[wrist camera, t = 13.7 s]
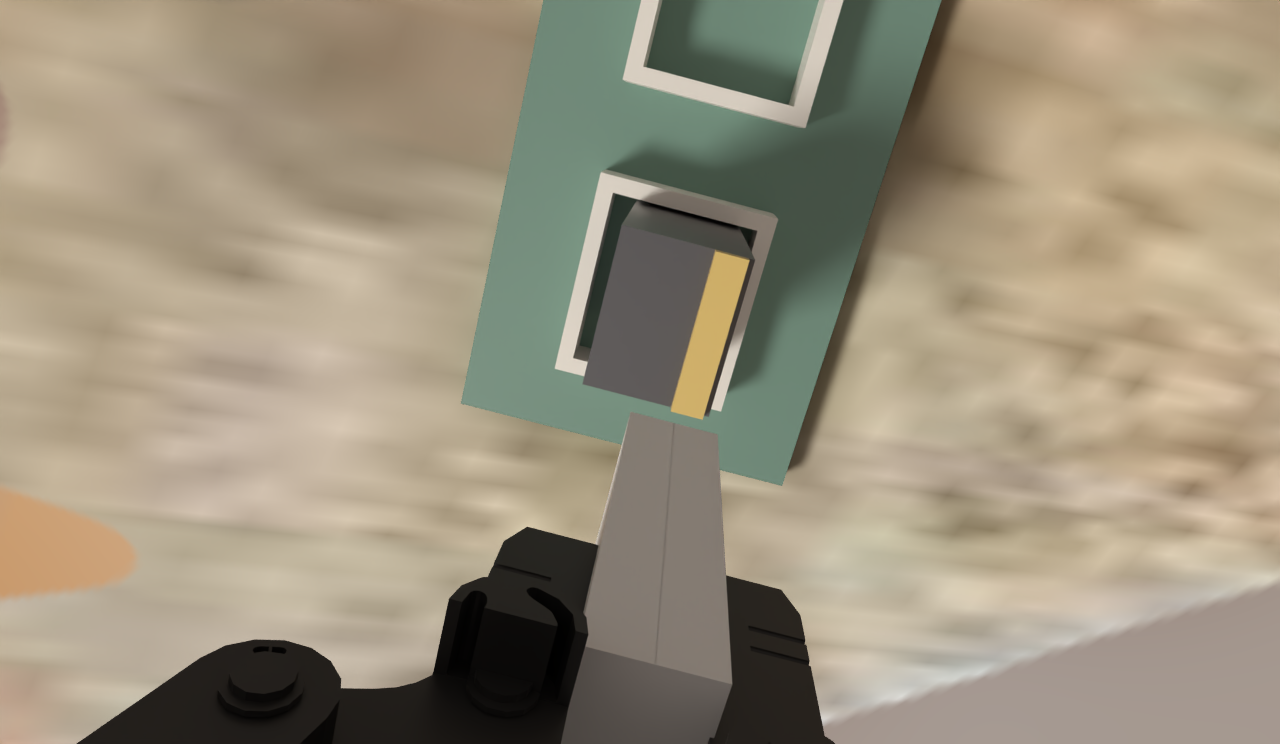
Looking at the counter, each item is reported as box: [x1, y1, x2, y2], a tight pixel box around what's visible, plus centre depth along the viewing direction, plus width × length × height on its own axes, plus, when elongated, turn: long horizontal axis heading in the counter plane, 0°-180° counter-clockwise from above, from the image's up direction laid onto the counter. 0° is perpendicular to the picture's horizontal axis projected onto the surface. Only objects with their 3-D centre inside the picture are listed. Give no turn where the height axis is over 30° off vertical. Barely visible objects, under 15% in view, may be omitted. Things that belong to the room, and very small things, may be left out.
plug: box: [582, 199, 755, 420], centre depth 30 cm, size 5×4×9 cm
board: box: [461, 0, 941, 486], centre depth 33 cm, size 24×14×3 cm, turn 166°
